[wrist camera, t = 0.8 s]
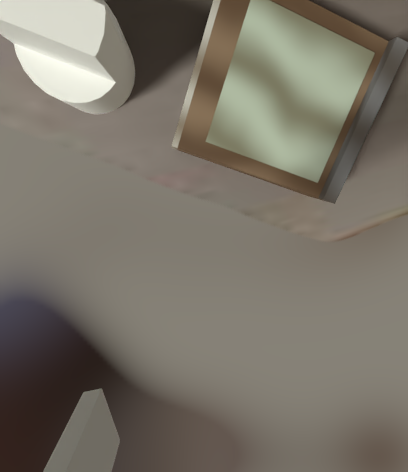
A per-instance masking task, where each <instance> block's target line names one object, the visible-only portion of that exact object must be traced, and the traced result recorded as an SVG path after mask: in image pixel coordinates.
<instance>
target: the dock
mask: <svg viewBox="0 0 408 472" xmlns="http://www.w3.org/2000/svg"><path fill="white" fill-rule="evenodd" d="M407 49H408V42H406V41H404V40H403V39H401V38H399V37H396V38H394V39H392V40H390V41H387V40H385V39H383V38H381V37H379V36H377V35H375V34H373V33H371V32H369V31H368V30H366V29H364V28H362V27H360V26H358V25H356V24H354V23H352V22H350V21H348V20H346V19H344V18H342V17H340V16H338V15H336V14H334V13H332V12H331V11H329V10H327V9H325V8H323V7H321V6H319V5H317V4H315V3H313V2H311V1H309V0H213V3H212V7H211V10H210V14H209V17H208V21H207V24H206V28H205V31H204V35H203V38H202V42H201V45H200V49H199V52H198V56H197V59H196V63H195V66H194V70H193V73H192V77H191V80H190V84H189V87H188V91H187V94H186V98H185V101H184V105H183V108H182V112H181V115H180V119H179V122H178V126H177V129H176V133H175V136H174V140H173V143H172V148H174V149H177V150H179V151H182V152H185V153H188V154H191V155H194V156H196V157H199V158H202V159H205V160H208V161H211V162H213V163H216V164H219V165H222V166H225V167H228V168H230V169H233V170H236V171H239V172H242V173H245V174H247V175H250V176H253V177H256V178H259V179H261V180H264V181H267V182H270V183H273V184H276V185H278V186H281V187H284V188H287V189H290V190H293V191H295V192H298V193H301V194H304V195H307V196H310V197H313V198H317V199H320V200H324V201H327V202H331V203H334V204H335V202H336V200H337V198H338V196H339V194H340V192H341V190H342V187H343V185H344V183H345V181H346V179H347V177H348V175H349V172H350V170H351V168H352V166H353V164H354V162H355V160H356V158H357V155H358V153H359V151H360V149H361V147H362V145H363V143H364V140H365V138H366V136H367V134H368V132H369V130H370V128H371V126H372V123H373V121H374V119H375V117H376V115H377V113H378V111H379V108H380V106H381V104H382V102H383V100H384V98H385V96H386V94H387V91H388V89H389V87H390V85H391V83H392V81H393V79H394V76H395V74H396V72H397V70H398V68H399V66H400V64H401V62H402V59H403V57H404V55H405V53H406V51H407Z"/></svg>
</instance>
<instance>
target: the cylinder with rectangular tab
mask: <svg viewBox="0 0 408 472" xmlns="http://www.w3.org/2000/svg"><path fill="white" fill-rule="evenodd" d="M0 34H1V35H2V36H4V37H5V38H7V39H8V40H10V41H11V42H12V43H14V46H15V50H16V54H17V56H18V59H19V61H20V63H21V65H22V67H23V69H24V70H25V72H26V73H27V74H28V75H29V77H30V78H31V79H32V81H33V82H34V83H35V84H36V85H37V86H39V87H40V88H41V89H42V90H43V91H45V92H46V93H47V94H49V95H51V96H53V97H55V98H57V99H59V100H61V101H63V102H65V103H67V104H69V105H71V106H73V107H75V108H77V109H79V110H81V111H83V112H87V113H92V114H106V113H109V112H111V111H114V110H116V109H117V108H119V107H120V106H121V105H123V104H124V103H125V101H126V100H127V99H128V97H129V96H130V94H131V91H132V89H133V86H134V81H135V66H134V59H133V57H132V54H131V51H130V49H129V46H128V44H127V42H126V39H125V37H124V35H123V33H122V30H121V28H120V26H119V24H118V21H117V19H116V17H115V16H114V14H113V12H112V11H111V9H110V8H109V6H108V5H107V3H106V2H105V1H104V0H0Z"/></svg>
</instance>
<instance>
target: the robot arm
mask: <svg viewBox="0 0 408 472" xmlns="http://www.w3.org/2000/svg"><path fill="white" fill-rule="evenodd" d="M119 442H120V439H119V436H118V433H117V431H116V428H115V425H114V422H113V419H112V417H111V414H110V411H109V408H108V405H107V402H106V399H105V397H104V394H103V391H102V389H97V390H92V391H88V392H83V395H82V396H81V398H80V400H79V402H78V404H77V406H76V408H75V410H74V412H73V414H72V416H71V418H70V420H69V422H68V424H67V426H66V428H65V430H64V432H63V434H62V436H61V438H60V440H59V442H58V444H57V446H56V448H55V449H54V451H53V453H52V455H51V457H50V459H49V461H48V463H47V466H46V467H45V469H44V471H43V472H111V471H112V468H113V464H114V460H115V456H116V453H117V449H118V446H119Z"/></svg>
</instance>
